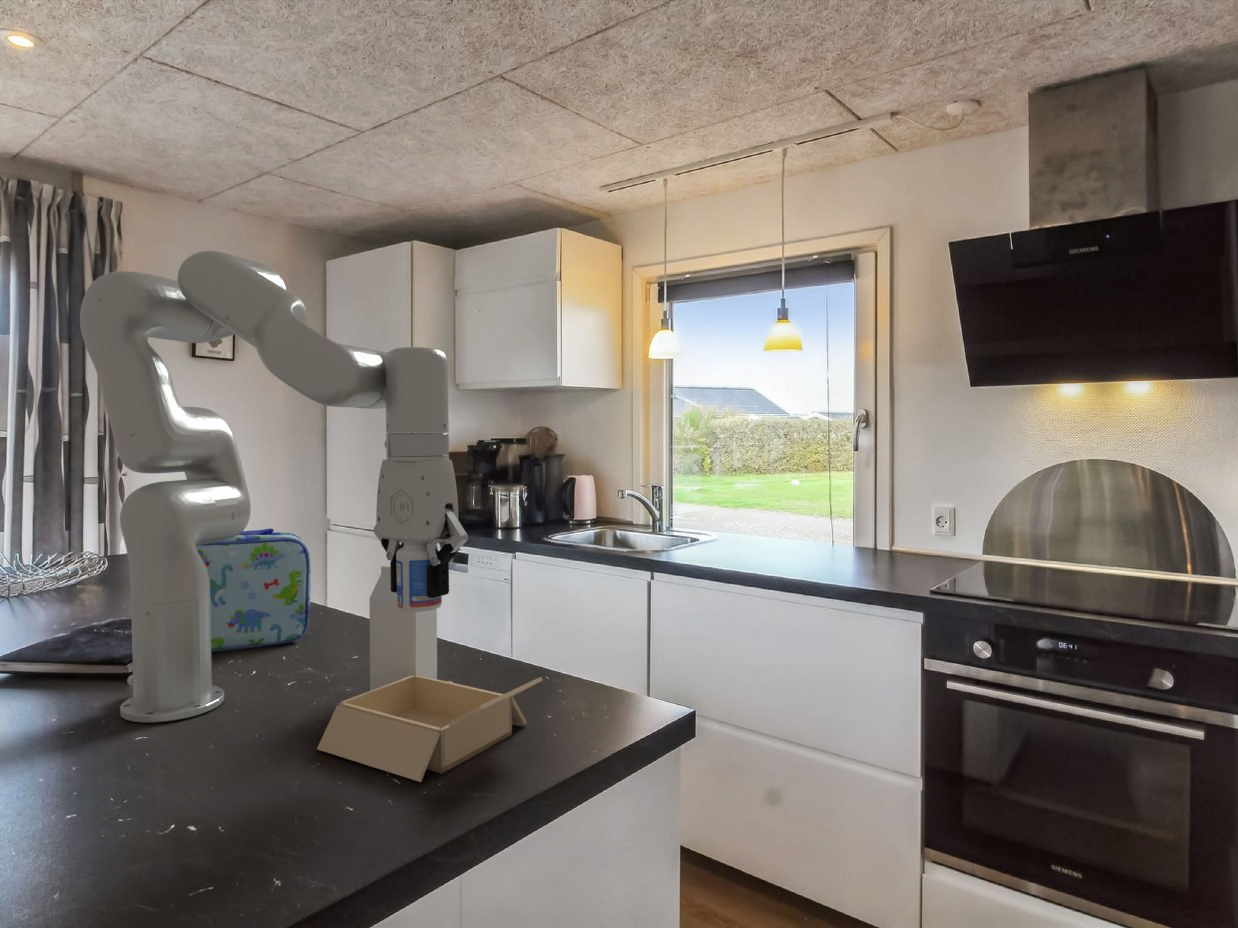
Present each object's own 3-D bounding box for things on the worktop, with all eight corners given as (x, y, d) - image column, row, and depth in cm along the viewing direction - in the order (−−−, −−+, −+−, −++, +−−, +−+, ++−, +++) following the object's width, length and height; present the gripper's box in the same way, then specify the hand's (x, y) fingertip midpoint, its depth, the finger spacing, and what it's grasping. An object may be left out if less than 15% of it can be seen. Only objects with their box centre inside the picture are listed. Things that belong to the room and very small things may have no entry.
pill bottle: (450, 604, 98) (449, 528, 98) (425, 614, 93) (425, 533, 93) (413, 601, 100) (412, 526, 100) (387, 610, 95) (386, 531, 94)
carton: (296, 746, 95) (296, 706, 95) (414, 697, 112) (414, 663, 112) (419, 785, 85) (419, 741, 85) (528, 725, 102) (528, 688, 102)
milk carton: (415, 705, 109) (415, 572, 108) (369, 701, 111) (368, 570, 110) (437, 689, 116) (437, 564, 115) (393, 685, 117) (393, 562, 117)
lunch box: (306, 629, 149) (305, 522, 148) (315, 643, 140) (314, 528, 139) (149, 648, 136) (146, 530, 135) (147, 664, 127) (145, 538, 126)
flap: (448, 722, 88) (479, 705, 86) (510, 692, 98) (540, 676, 96) (449, 726, 88) (481, 709, 85) (512, 696, 98) (542, 680, 95)
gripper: (346, 448, 97) (348, 591, 98) (448, 450, 88) (450, 607, 89) (391, 447, 103) (393, 581, 104) (491, 448, 95) (492, 595, 95)
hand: (419, 591), depth 96 cm, fingers closed on pill bottle, 5 cm apart
